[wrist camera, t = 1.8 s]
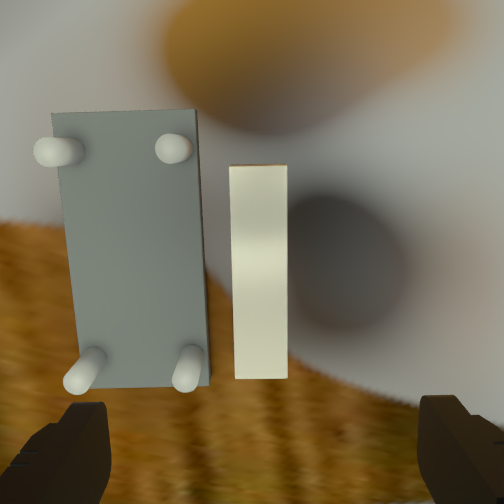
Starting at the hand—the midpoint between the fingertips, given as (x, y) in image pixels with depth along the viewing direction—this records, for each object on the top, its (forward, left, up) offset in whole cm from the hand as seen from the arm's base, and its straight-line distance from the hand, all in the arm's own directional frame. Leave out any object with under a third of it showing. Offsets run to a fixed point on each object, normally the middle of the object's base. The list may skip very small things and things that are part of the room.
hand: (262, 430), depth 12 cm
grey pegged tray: (-1, -7, -16) cm, 17 cm away
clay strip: (0, 0, -16) cm, 16 cm away
